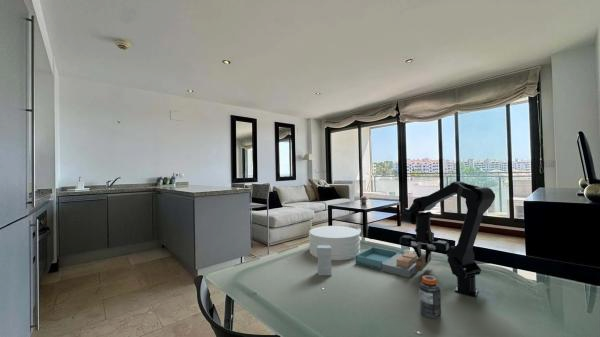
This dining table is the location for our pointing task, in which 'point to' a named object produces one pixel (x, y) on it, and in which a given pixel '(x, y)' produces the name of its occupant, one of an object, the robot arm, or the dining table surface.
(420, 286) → the pill bottle
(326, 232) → the plate stack
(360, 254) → the box
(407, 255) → the tile
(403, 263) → the tile
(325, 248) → the skincare box
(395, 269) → the platform
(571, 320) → the dining table surface
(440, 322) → the dining table surface
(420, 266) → the scraper bar
